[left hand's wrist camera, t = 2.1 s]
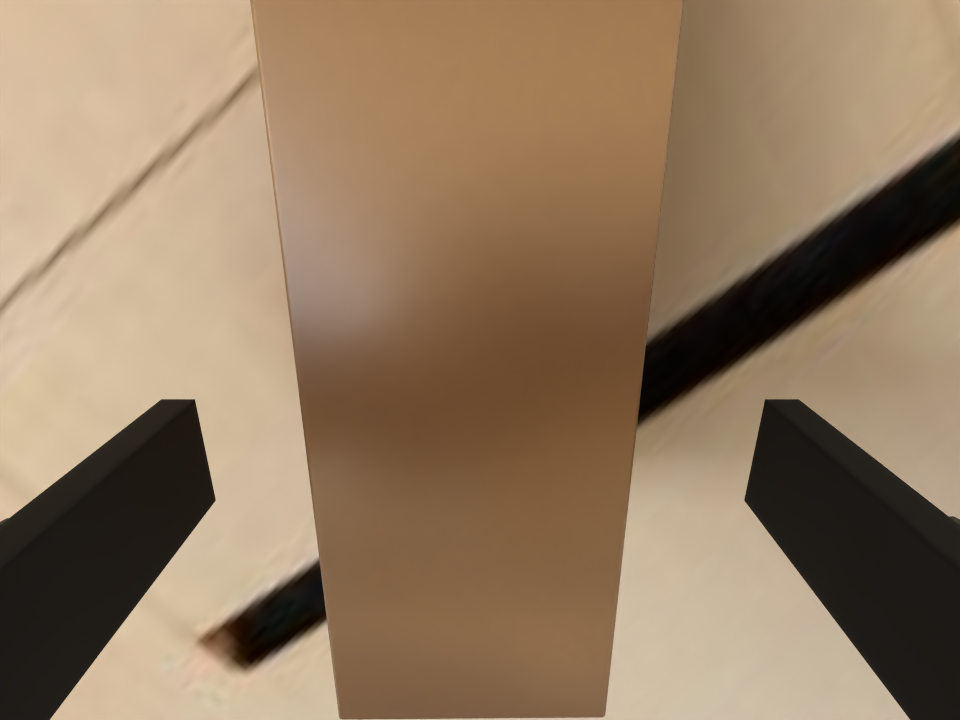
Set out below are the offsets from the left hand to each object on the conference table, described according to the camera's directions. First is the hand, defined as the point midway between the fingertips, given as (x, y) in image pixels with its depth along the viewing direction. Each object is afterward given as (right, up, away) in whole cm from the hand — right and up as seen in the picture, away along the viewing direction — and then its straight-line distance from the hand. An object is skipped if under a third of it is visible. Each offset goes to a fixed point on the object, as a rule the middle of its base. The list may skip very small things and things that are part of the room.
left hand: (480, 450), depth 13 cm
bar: (0, +12, +2) cm, 12 cm away
